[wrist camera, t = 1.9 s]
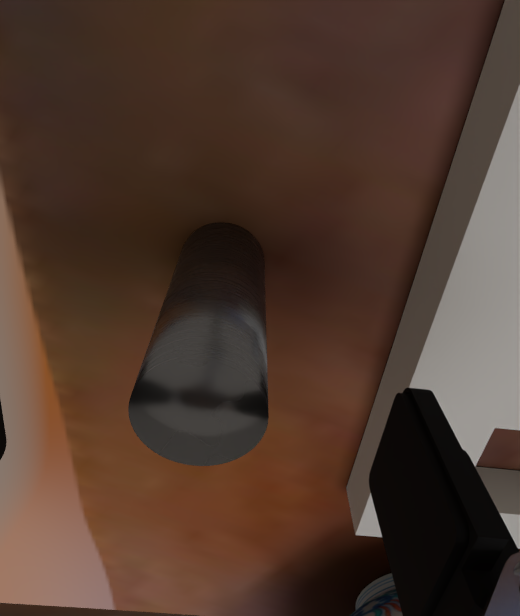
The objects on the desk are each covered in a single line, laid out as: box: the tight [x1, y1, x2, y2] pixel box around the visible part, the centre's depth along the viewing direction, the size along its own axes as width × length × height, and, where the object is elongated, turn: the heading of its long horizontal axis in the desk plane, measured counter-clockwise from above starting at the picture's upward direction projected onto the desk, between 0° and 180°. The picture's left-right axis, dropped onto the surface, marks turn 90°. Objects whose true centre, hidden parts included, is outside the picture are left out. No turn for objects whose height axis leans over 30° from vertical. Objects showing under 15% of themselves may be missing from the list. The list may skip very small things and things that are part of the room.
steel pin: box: [129, 223, 268, 466], centre depth 14 cm, size 3×3×8 cm
